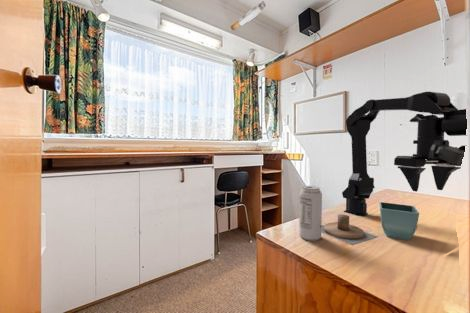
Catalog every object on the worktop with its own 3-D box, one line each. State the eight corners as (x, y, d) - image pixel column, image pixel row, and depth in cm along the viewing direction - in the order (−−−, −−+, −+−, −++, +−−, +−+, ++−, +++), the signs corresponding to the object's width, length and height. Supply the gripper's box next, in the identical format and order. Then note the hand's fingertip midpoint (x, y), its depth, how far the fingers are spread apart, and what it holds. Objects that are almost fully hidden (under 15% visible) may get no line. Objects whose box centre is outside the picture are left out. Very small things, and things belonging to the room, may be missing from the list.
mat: (311, 229, 70) (311, 227, 70) (336, 223, 76) (336, 222, 76) (352, 246, 58) (352, 244, 58) (378, 237, 63) (378, 236, 63)
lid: (316, 229, 69) (316, 213, 69) (339, 223, 74) (339, 209, 74) (348, 242, 59) (348, 224, 59) (371, 235, 64) (372, 218, 64)
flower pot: (418, 245, 58) (419, 212, 58) (379, 238, 63) (380, 208, 63) (413, 234, 66) (414, 205, 65) (378, 229, 70) (379, 201, 70)
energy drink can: (325, 241, 60) (326, 188, 60) (305, 243, 59) (306, 189, 59) (313, 233, 66) (314, 185, 66) (295, 235, 65) (296, 185, 65)
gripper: (436, 134, 52) (433, 198, 53) (492, 136, 56) (488, 195, 57) (393, 136, 63) (391, 189, 64) (442, 137, 67) (440, 187, 68)
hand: (427, 190), depth 63 cm, fingers open, 9 cm apart
